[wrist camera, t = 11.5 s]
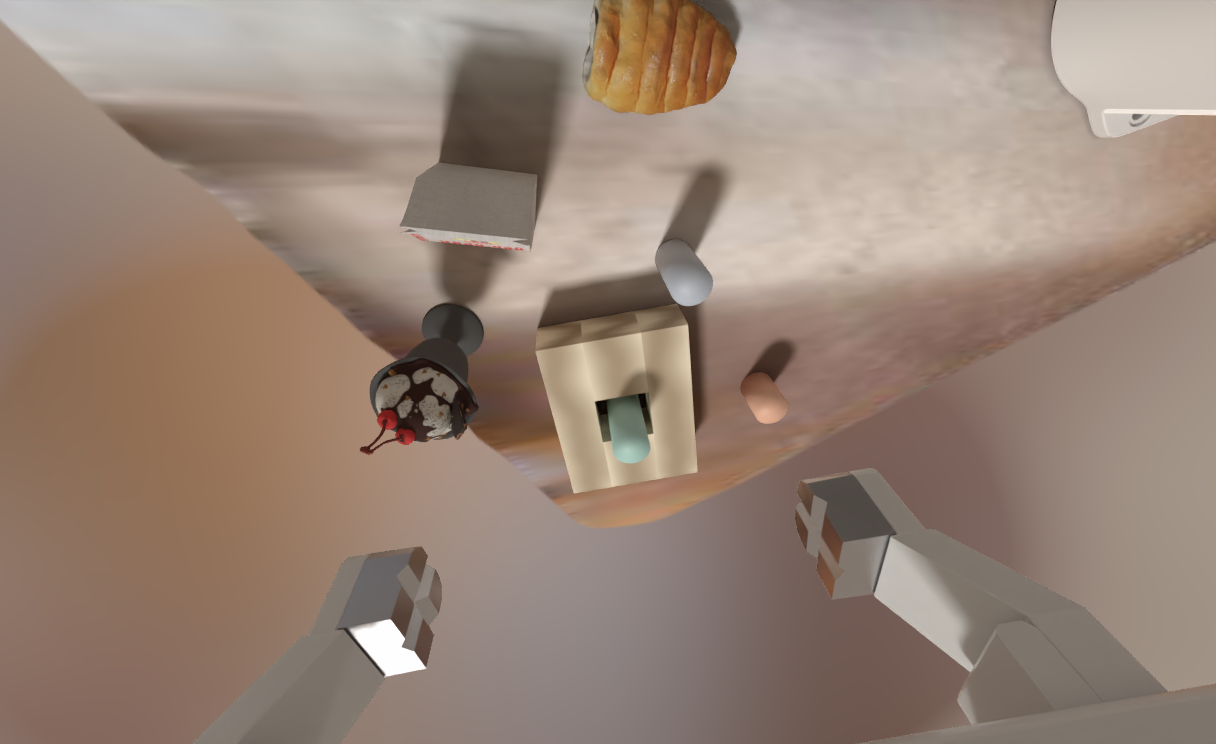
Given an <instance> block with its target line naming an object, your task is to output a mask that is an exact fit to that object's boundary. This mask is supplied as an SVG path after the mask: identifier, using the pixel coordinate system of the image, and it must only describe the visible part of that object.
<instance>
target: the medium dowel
mask: <svg viewBox="0 0 1216 744" xmlns="http://www.w3.org/2000/svg"><path fill="white" fill-rule="evenodd" d="M655 263H656V266H657V268H658V270H659V272H660V274H661V276H662V278H663V280H664V282H665V284H666V286H667V288H668V290H669V292H670V294H671V296H672V298H673V299H674V300H675V301H676V302H677V303H679V304H681V305H684V306H694V305H697V304H699V303H701V302H703V301H704V300H705V299H706V298H707V297H708V296H709V294H710V292H711V290H712V286H713V280H712V276H711V274H710V273H709V271H708V270H707V269H706V267H705V266H704V265H703V263H702V262H701V261H700V259H699V258H698V257H697V256H696V254H695V253H694V252H693V250H692V249H691V248H690V246H689V245H688V244H687V243H686V242H684V241H682V240H678V239H672V240H669V241H667V242H665V243H663V244H662V245H661V246H660V247H659V249H658V250H657V252H656V256H655Z"/></svg>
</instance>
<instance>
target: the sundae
mask: <svg viewBox="0 0 1216 744" xmlns="http://www.w3.org/2000/svg"><path fill="white" fill-rule="evenodd" d="M422 332H423V336H424V338H425V341H423V342H422V343H420V344H419V345H418V346H416V347H415V348H414V349H413V350H412V351H411V352H410V353H409V354H408V355H407V356H406V357H405V358H404V359H401V360H398V361H395V362H393V363H391V364H389V365H387V366H386V367H384V368H383V369H381V370H380V371H379V372H378V373H377V374H376V375H375V376H374V378H373V380H372V381H371V385H370V399H371V403H372V407H373V409H374V411H375V413H376V415H377V417H378V418H377V422H378V424H379V425H380V426H381V428H382V430H381V433H380V435H379V436H378V437H377V438H376V440H375V441H374V442H373V443H372V444H370V445H369V446H367V447H366V446H364V447H361V449H360V451H361V452H363V453H366V454H368V455H370V454H372V453H373V451H374V450H376V449H377V448H379V447H380V446H382V445H383V444H385V443H388V442H392V441H398V442H399V443H401V444H403V445H409V444H410V443H412V442H413V441H414V442H427V441H430V440H440V439H448V438H450V437H453V436H454V437H455V438H456V439H459V438H460V437H461V436H462V435H463V433H464V431H465V430H466V429H467V426H468V424H469V423H470V422H471V420H472V419H473V417H474V414H475V412H476V411H477V410H478V407H479V406H478V405H477V404H476V398H475V396H474V393H473V391H472V390H471V388H470V386H469V385H468V384H467V378H468V362H467V357H466V356H468V355H470V354H472V353H473V352H475V351H476V350H477V349H478V348H479V346H480V345H481V343H482V340H483V329H482V326H481V323H480V321H479V320H478V319H477V317H476V316H475V315H474V314H473V313H472V312H470V311H469V310H467V309H465V308H463V307H460V306H457V305H450V304H449V305H441V306H437V307H435V308H434V309H432V310H431V311H429V312H428V313H427V315H426V316H425V318H424V320H423V324H422ZM385 429H387V430H389V429H390V430H393V431H395V432H396V434H395V436H396V438H395V439H391V440H387V441H385V442H383V443H382V444H380V445H378V446H377V447H375V448H374V449H372V450H370V447H371V446H372V445H374V444H375V443H376V442H377V441H378V440H379V439H380V437H381V436H382V435H383V433H384V431H385Z"/></svg>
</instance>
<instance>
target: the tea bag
mask: <svg viewBox="0 0 1216 744" xmlns="http://www.w3.org/2000/svg"><path fill="white" fill-rule="evenodd" d="M536 194H537V174H529V173H521V172H513V171H505V170H497V169H489V168H480V167H472V166H464V165H456V164H448V163H440V162H439V163H437V164H436V165H434V166H433V167H431V168H430V169H428V170H427V171H425V172H424V173H423V174H421V175H420V176H418V177H417V178H416V181H415V184H414V187H413V191H412V194H411V197H410V200H409V204H408V207H407V210H406V212H405V215H404V218H403V220H402V222H401V224H400V226H401V227H404V228H408V229H409V230H407V231H405V232H401V233H407V234H412V235H414V236H415V237H417V238H419V239H420V240H424V241H434V242H444V243H454V244H464V245H474V246H484V247H494V248H504V249H514V250H524V251H531V247H532V241H533V235H534V229H535V215H536Z"/></svg>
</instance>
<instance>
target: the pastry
mask: <svg viewBox="0 0 1216 744" xmlns="http://www.w3.org/2000/svg"><path fill="white" fill-rule="evenodd" d="M590 27H591V32H590V50H589V52H588V54H587V55H586V58H585V60H584V64H583V75H582V76H583V83H584V87H585V90H586V91H587V93H588V95H589V96H590V97H591V98H592V99H593V100H596V101H599V102H601V103H603V104H604V105H606V106H607V107H609V108H610V109H611V110H613V111H616V112H620V113H623V112H633V113H643V114H648V115H653V114H656V113H665V112H669V111H672V110H678V109H682V108H686V107H689V106H693V105H697V104H704V103H707V102H708V101H710V100H711V99H712V98H713V97H714V96H716V94H717V93H718V92H719V91H720V90H721V89H722V88H723V87H724V85H725V84H726V82H727V79H728V76H729V74H730V70H731V68H732V66H733V64H734V62H735V59H736V55H737V51H736V48H735V46H734V44H733V41H732V39H731V36H730V33H729V32H728V30H727V28H726V27H724V26H723V25H721V24H720V23H719V22H717V21H716V20H715V18H714V17H713V16H712V14H711V13H710V12H707V11H705V10H704V9H703V8H702V7H701V6H698V5H696V4H695V3H693V2H691V1H689V0H595V1H594V8H593V11H592V15H591V23H590Z"/></svg>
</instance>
